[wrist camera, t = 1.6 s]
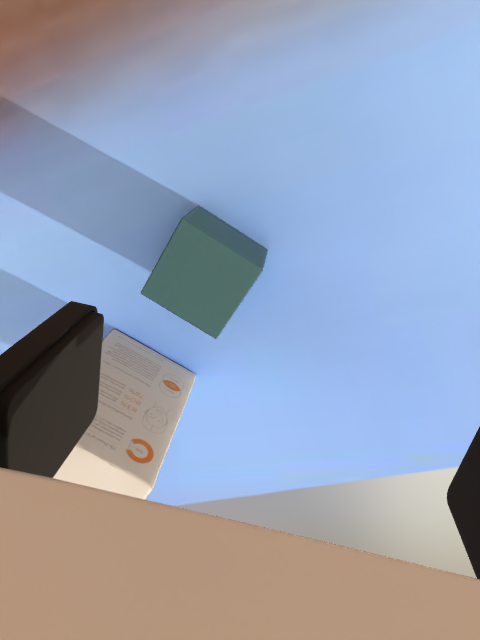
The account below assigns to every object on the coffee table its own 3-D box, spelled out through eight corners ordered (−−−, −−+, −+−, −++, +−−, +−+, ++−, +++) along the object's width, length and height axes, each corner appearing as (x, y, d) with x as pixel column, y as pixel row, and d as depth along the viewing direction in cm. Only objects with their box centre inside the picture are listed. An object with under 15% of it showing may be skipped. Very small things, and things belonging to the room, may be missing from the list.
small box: (85, 381, 40) (-5, 490, 28) (114, 326, 37) (27, 420, 25) (166, 425, 41) (112, 549, 29) (199, 374, 38) (154, 487, 26)
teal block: (160, 271, 35) (139, 293, 30) (198, 204, 32) (181, 218, 28) (226, 312, 35) (216, 339, 31) (268, 249, 33) (263, 269, 29)
